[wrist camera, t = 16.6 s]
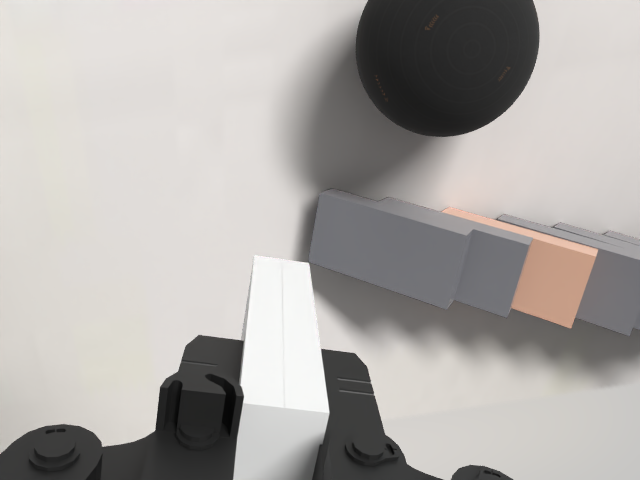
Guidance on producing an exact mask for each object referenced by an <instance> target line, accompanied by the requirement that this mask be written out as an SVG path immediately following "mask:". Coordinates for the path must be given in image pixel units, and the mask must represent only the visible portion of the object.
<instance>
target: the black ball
mask: <svg viewBox="0 0 640 480" xmlns="http://www.w3.org/2000/svg"><path fill="white" fill-rule="evenodd" d="M538 48H539V23H538V17H537V12H536V9H535V5H534V3H533V0H368V2H367V4H366V6H365V8H364V10H363V13H362V16H361V19H360V22H359V26H358V31H357V37H356V60H357V66H358V71H359V75H360V78H361V81H362V83H363V86H364V88H365V90H366V92H367V94H368V96H369V97H370V99H371V100H372V102H373V103H374V104H375V106H376V107H377V108H378V109H379V110H380V111H381V112H382V113H383V114H384V115H385V116H386V117H387V118H389V119H390V120H391V121H393V122H394V123H396V124H397V125H399V126H401V127H403V128H405V129H407V130H409V131H412V132H415V133H418V134H422V135H427V136H436V137H447V136H456V135H461V134H465V133H468V132H471V131H474V130H477V129H479V128H481V127H483V126H485V125H487V124H489V123H490V122H492V121H493V120H495V119H496V118H498V117H499V116H500V115H502V114H503V113H504V112H505V111H506V110H507V109H508V108H509V107H510V106H511V105H512V104H513V103H514V102H515V101H516V99H517V98H518V97H519V96H520V94H521V93H522V91H523V90H524V88H525V86H526V85H527V83H528V81H529V79H530V77H531V74H532V72H533V69H534V66H535V63H536V59H537V54H538Z"/></svg>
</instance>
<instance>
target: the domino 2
mask: <svg viewBox="0 0 640 480" xmlns="http://www.w3.org/2000/svg"><path fill="white" fill-rule="evenodd" d="M379 202H382V203H385V204H389V205H392V206H396V207H399V208H403V209H406V210H410V211H413V212H417V213H420V214H424V215H427V216H431V217H434V218H438V219H441V220H445V221H448V222H452V223H455V224H459V225H462V226H466V227H469V228H473V233H472V236H471V240H470V244H469V247H468V251H467V255H466V259H465V262H464V266H463V270H462V273H461V277H460V281H459V284H458V288H457V292H456V296H455V299H454V300H455V301H458V302H461V303H464V304H467V305H470V306H473V307H476V308H479V309H482V310H485V311H488V312H491V313H494V314H497V315H500V316H503V317H505V318H507V317H508V315H509V312H510V310H511V308H512V305H513V302H514V299H515V295H516V292H517V289H518V286H519V282H520V279H521V276H522V273H523V270H524V266H525V263H526V260H527V257H528V253H529V250H530V247H531V244H532V241H533V238H532V237H528V236H525V235H521V234H518V233H514V232H511V231H507V230H503V229H500V228H496V227H493V226H489V225H486V224H482V223H479V222H475V221H472V220H468V219H464V218H461V217H457V216H454V215H450V214H447V213H443V212H440V211H436V210H433V209H429V208H425V207H422V206H418V205H415V204H411V203H408V202H404V201H401V200H397V199H394V198H390V197H387V198H385V199H383V200H381V201H379Z"/></svg>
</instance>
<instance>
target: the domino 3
mask: <svg viewBox="0 0 640 480" xmlns="http://www.w3.org/2000/svg"><path fill="white" fill-rule="evenodd" d="M441 212H443V213H447V214H450V215H454V216H457V217H461V218H464V219H468V220H472V221H475V222H479V223H482V224H486V225H489V226H493V227H496V228H500V229H503V230H507V231H511V232H514V233H518V234H521V235H525V236H528V237H532V238H533V241H532V244H531V247H530V250H529V253H528V257H527V260H526V263H525V266H524V270H523V273H522V276H521V279H520V282H519V286H518V289H517V292H516V295H515V299H514V302H513V305H512V308H513V309H515V310H518V311H521V312H524V313H527V314H530V315H533V316H536V317H539V318H542V319H544V320H547V321H550V322H553V323H556V324H559V325H562V326H565V327H568V328H572V325H573V322H574V319H575V316H576V313H577V310H578V307H579V305H580V302H581V299H582V296H583V293H584V290H585V287H586V284H587V282H588V279H589V276H590V273H591V270H592V267H593V264H594V261H595V259H596V256H597V252H598V249H596V248H592V247H589V246H585V245H582V244H578V243H574V242H571V241H567V240H564V239H560V238H557V237H553V236H550V235H546V234H543V233H539V232H536V231H532V230H529V229H525V228H522V227H518V226H515V225H511V224H508V223H504V222H501V221H497V220H494V219H490V218H487V217H483V216H480V215H476V214H473V213H469V212H465V211H462V210H458V209H455V208H451V207H448V208H447V209H445V210H443V211H441Z"/></svg>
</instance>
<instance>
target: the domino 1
mask: <svg viewBox="0 0 640 480" xmlns="http://www.w3.org/2000/svg"><path fill="white" fill-rule="evenodd" d="M472 233H473V228H469V227H466V226H462V225H459V224H455V223H452V222H448V221H445V220H441V219H438V218H434V217H431V216H427V215H424V214H420V213H417V212H413V211H410V210H406V209H403V208H399V207H396V206H392V205H389V204H385V203H382V202H378V201H375V200H371V199H368V198H364V197H361V196H357V195H354V194H350V193H347V192H343V191H340V190H336V189H333V188H332V189H329V190H326V191H324V192H321V193H320V195H319V200H318V206H317V212H316V218H315V223H314V229H313V235H312V241H311V246H310V252H309V258H308V262H310V263H313V264H316V265H319V266H321V267H324V268H327V269H330V270H333V271H336V272H339V273H342V274H345V275H348V276H350V277H353V278H356V279H359V280H362V281H365V282H368V283H371V284H374V285H376V286H379V287H382V288H385V289H388V290H391V291H394V292H397V293H400V294H403V295H405V296H408V297H411V298H414V299H417V300H420V301H423V302H426V303H429V304H432V305H434V306H437V307H440V308H443V309H446V310H447V309H448V308H449V306H450V305H451V304H452V302H453V301H454V299H455V296H456V292H457V288H458V284H459V281H460V277H461V273H462V270H463V266H464V262H465V259H466V255H467V251H468V247H469V244H470V240H471V236H472Z"/></svg>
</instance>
